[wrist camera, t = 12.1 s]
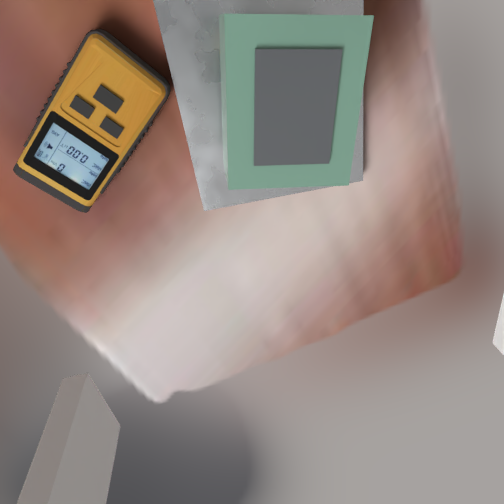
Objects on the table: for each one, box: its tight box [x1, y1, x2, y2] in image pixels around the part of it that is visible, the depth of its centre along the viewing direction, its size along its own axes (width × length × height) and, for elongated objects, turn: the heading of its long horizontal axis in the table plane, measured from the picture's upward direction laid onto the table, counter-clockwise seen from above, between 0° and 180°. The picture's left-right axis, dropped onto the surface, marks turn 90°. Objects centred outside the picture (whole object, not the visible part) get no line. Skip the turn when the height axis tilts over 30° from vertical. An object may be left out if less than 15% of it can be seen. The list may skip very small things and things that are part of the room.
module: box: [219, 14, 374, 190], centre depth 31 cm, size 12×10×7 cm
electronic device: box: [13, 29, 170, 213], centre depth 36 cm, size 8×16×3 cm, turn 140°
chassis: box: [153, 0, 364, 211], centre depth 36 cm, size 22×18×4 cm
